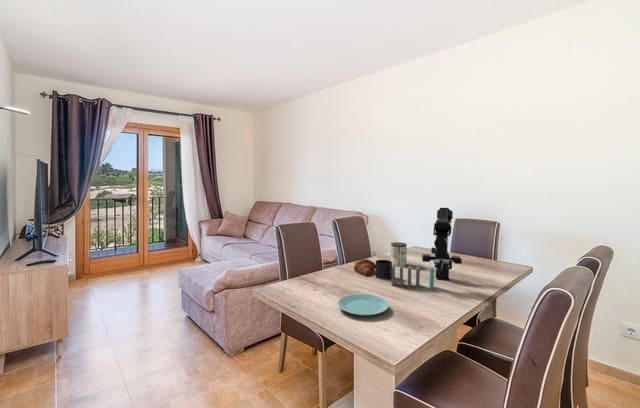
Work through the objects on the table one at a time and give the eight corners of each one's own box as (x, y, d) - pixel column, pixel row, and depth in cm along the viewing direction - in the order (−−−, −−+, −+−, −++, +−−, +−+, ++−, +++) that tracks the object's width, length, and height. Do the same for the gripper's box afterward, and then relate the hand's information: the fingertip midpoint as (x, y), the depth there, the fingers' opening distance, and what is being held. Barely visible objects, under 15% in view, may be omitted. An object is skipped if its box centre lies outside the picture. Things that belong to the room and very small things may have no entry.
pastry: (345, 270, 193) (345, 258, 192) (362, 266, 203) (362, 254, 202) (366, 277, 180) (366, 263, 179) (382, 272, 190) (382, 259, 189)
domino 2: (402, 283, 168) (403, 265, 167) (402, 286, 163) (403, 268, 162) (399, 283, 168) (400, 265, 167) (399, 286, 163) (399, 267, 162)
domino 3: (410, 284, 166) (411, 266, 166) (410, 287, 162) (411, 268, 161) (407, 284, 167) (408, 266, 166) (407, 287, 162) (408, 268, 161)
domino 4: (418, 285, 165) (419, 266, 165) (419, 288, 161) (419, 269, 160) (415, 284, 166) (416, 266, 165) (416, 287, 161) (416, 269, 160)
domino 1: (394, 283, 169) (395, 265, 168) (394, 286, 164) (394, 267, 163) (391, 282, 169) (392, 264, 168) (391, 285, 164) (391, 267, 164)
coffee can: (395, 261, 214) (395, 241, 213) (409, 264, 207) (409, 243, 205) (387, 264, 206) (387, 243, 205) (401, 267, 199) (401, 246, 198)
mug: (386, 281, 171) (387, 265, 170) (371, 276, 181) (372, 261, 180) (398, 278, 176) (398, 263, 175) (383, 273, 186) (383, 258, 185)
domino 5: (432, 286, 164) (432, 267, 163) (433, 289, 159) (433, 270, 158) (429, 285, 164) (429, 267, 163) (430, 289, 159) (430, 270, 158)
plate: (353, 324, 120) (353, 317, 120) (329, 303, 141) (329, 297, 140) (399, 314, 129) (399, 308, 129) (370, 296, 150) (370, 290, 149)
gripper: (458, 243, 164) (457, 272, 165) (421, 241, 169) (420, 269, 170) (462, 247, 153) (461, 278, 154) (423, 245, 158) (422, 275, 159)
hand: (440, 275), depth 160 cm, fingers closed
